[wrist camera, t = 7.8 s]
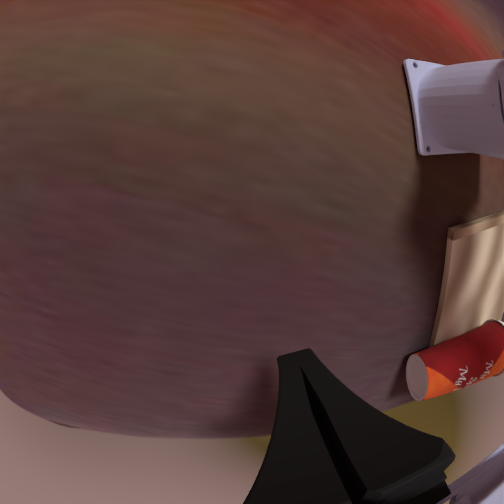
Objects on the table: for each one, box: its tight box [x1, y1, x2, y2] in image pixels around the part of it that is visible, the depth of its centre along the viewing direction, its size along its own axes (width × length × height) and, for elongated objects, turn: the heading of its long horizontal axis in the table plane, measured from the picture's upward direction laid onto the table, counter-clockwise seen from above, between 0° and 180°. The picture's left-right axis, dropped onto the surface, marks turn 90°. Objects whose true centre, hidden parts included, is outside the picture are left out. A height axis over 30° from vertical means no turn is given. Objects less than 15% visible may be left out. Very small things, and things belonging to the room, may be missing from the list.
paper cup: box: [406, 319, 504, 401], centre depth 24 cm, size 8×8×14 cm
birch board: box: [429, 211, 504, 348], centre depth 25 cm, size 16×18×1 cm
